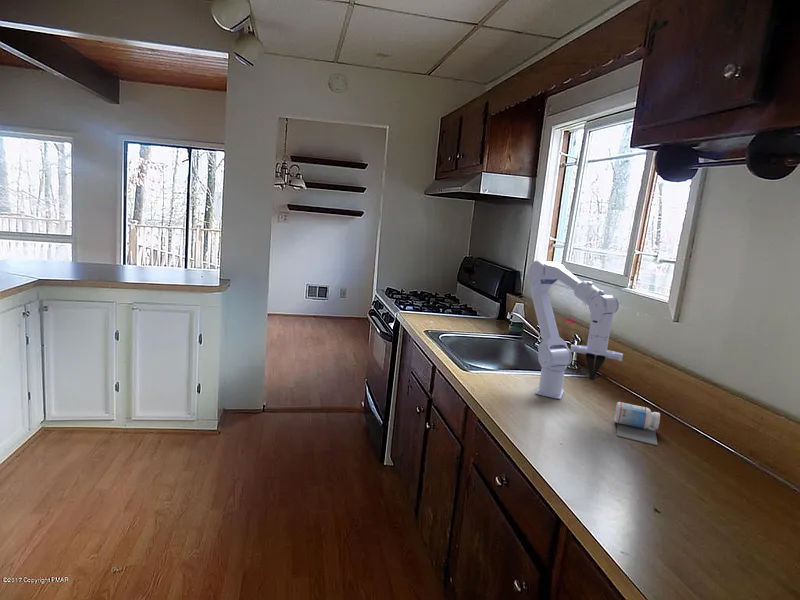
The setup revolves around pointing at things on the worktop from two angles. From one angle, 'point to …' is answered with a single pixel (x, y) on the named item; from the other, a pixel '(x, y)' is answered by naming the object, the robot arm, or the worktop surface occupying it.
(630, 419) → the pill bottle
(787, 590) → the worktop surface
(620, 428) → the mat
